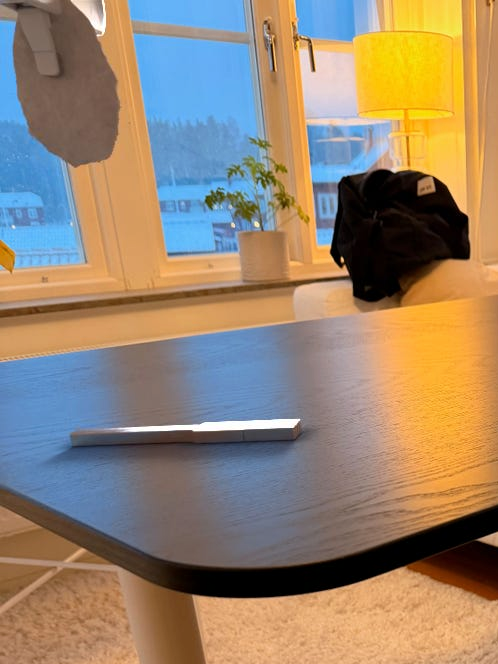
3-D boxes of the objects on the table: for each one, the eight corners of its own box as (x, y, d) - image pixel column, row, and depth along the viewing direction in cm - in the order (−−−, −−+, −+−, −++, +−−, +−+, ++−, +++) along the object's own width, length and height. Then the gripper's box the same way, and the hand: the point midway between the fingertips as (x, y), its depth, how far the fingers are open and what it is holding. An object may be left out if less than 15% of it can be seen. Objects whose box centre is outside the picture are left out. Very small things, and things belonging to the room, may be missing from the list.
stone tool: (134, 167, 88) (102, -18, 81) (132, 164, 85) (98, -27, 78) (34, 169, 85) (-7, -21, 79) (28, 166, 83) (-15, -30, 76)
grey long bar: (68, 448, 70) (64, 436, 69) (83, 439, 72) (80, 427, 72) (294, 440, 69) (293, 427, 69) (302, 431, 72) (300, 418, 71)
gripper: (-2, -157, 67) (44, 60, 73) (102, -78, 85) (131, 90, 91) (-84, -154, 67) (-32, 63, 73) (37, -75, 85) (71, 92, 91)
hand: (60, 78), depth 82 cm, fingers closed on stone tool, 2 cm apart
